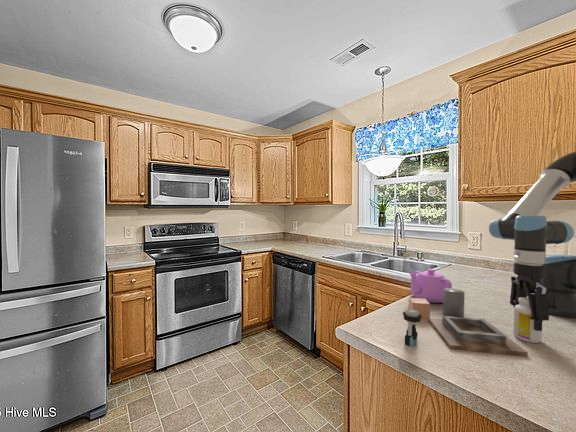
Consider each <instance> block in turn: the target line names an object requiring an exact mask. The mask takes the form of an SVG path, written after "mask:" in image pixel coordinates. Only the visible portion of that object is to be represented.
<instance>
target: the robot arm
mask: <svg viewBox="0 0 576 432" xmlns="http://www.w3.org/2000/svg"><path fill="white" fill-rule="evenodd" d="M575 182H576V151H573V152H569V153H567V154H565V155H563V156H561V157H559V158H558V159H556V160H554V161H553V162H552V163H550V164H549V165H548V166H546V167H545V168H544V169H543V170H542V171H541V172H540V173H539V176H538V180H537V181H536V182H535V183H534V184H533V185H532V186H531V188H530V189H529V190H527V192H526V193H525V194H524V195H523V197H521V199H519V201H518V202H517V203H516V205H514V207H513V208H512V209H511V210H510V211H509V212H508V213H507V214H506V215H505V216H504V217H503V218H495V219H493V220H491V221H490V223H489V225H488V231H489V234H490V235H491V236H492V237H493V238H495V239H500V240H509V241H514V248H513V249H514V252H513V253H512V254H513V260H514V261H515V262H513V273H514V274H515V275H516V276H511V277H510V280H511V288H510V295H509V296H510V297H509V298H510V299H509V304H510V305H511V306H512V307H513V308H514V307H515V306H516V305H518V304H519V301H518V298H519V297H527V298H529V303H530V308H531V313H532V317H530V338H529V339H531V340H540V341H542V334H543V333H542V332H543V322H544V321H548V322H549V321H550V315H552V316H558V317H564V318H576V255H574V254H573V255H572V254H547V253H546V251H547V250H546V248H547V245H552V244H553V245H560V244H565V243H568V242H569V241H571V239H573V237H574V234H575V231H574V228H573V226H572V225H571V224H569V223H567V222H566V221H562V220H561V221H560V220H547V219H548V218H547V217H546V216H545V215H540V213H541V212H542V211H543V210H544V209H545V207H547V206H548V204H550V202H551V201H552V200H553V199H554V197H556V196H557V194H558V193H559V192H560V191H561V189H563V188H566V187H568V186H569V185H570V184H571V183H575ZM536 315H537V316H536Z"/></svg>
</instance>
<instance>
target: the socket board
mask: <svg viewBox="0 0 576 432" xmlns="http://www.w3.org/2000/svg"><path fill="white" fill-rule="evenodd" d="M428 323H429V324H430V325H431V326H432V328H433V329H434V330H435V331H436V332H437V334H438V336H439V337H440V338H441V339H442V340H443V341H444V343H445V344H446V346H448V348H449V349H450V350H458V351H467V352H479V353H487V354H488V353H489V354H500V355H508V356H509V355H510V356H519V357H520V356H521V357H528V355H529V354H528V353H529V352H528V351H527V350H526V349H525V348H523V347H522V346H520V345H519V344H517V342H515V341H513V340H512V339H511V338H510V337H508V336H507V335H506V334H505V333H503V331H501V330H500V329H498V328H497V327H496V326H494V325H493V324H492V323H490V322H488V321H487V320H486V319H485V318H476V317H465V316H464V317H451V316H443V315H442V318H434V317H433V318H432V317H430V318H429V319H428Z"/></svg>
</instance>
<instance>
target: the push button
mask: <svg viewBox="0 0 576 432" xmlns="http://www.w3.org/2000/svg"><path fill="white" fill-rule="evenodd" d="M402 316H403V320H405V321H406V322H407V323H408V324H407V326H408V327H407V329H406V333H405V336H404V345H407V346H410V347H413V346H414V345H418V336H419V334H418V332H417V328H416V324H418V323H420V322H421V320H422V319H421V318H422V315H421V314H419V312H418V311H416V310H413V309H409V308H408V309H406V310H405V311H403V312H402Z"/></svg>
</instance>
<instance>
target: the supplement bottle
mask: <svg viewBox="0 0 576 432" xmlns="http://www.w3.org/2000/svg"><path fill="white" fill-rule="evenodd" d="M518 301H519V304H518V305H516V306H515V307H513V309H514V310H513V336H514V337H516V338H517V339H519V340H521V341H524V342H527V343H530V344H531V343H532V344H539V343H541V341H542V340H541V341H540V340H531V339H529V338H530V317H532V313H531V308H530V303H529V298H528V296H527V297H519V298H518ZM536 316H537V315H536Z"/></svg>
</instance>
